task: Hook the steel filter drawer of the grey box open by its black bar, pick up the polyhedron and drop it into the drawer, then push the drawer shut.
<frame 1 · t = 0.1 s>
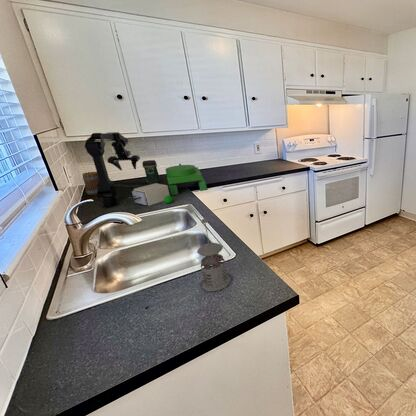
hand: (128, 169, 197), 15 cm above the worktop, tool pointing down, fingers open, 9 cm apart
mug: (99, 192, 198), on the worktop
french press: (215, 281, 97), on the worktop
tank: (188, 186, 209), on the worktop
grey box: (154, 200, 179), on the worktop
coffee jar: (154, 183, 220), on the worktop
polyhedron: (169, 203, 175), on the worktop
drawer: (145, 196, 173), point 5 cm above the worktop, slide at 0.5 cm
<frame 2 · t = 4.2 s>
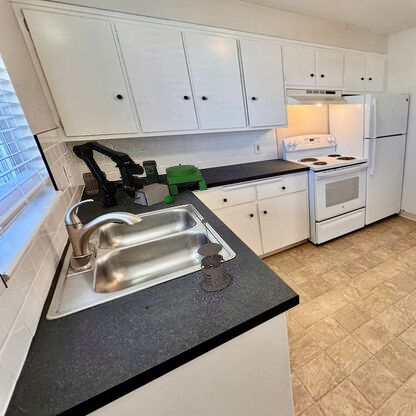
hand: (133, 198, 167), 5 cm above the worktop, tool pointing down, fingers closed
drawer: (145, 196, 173), point 5 cm above the worktop, slide at 0.8 cm, touching gripper
everything else where it was.
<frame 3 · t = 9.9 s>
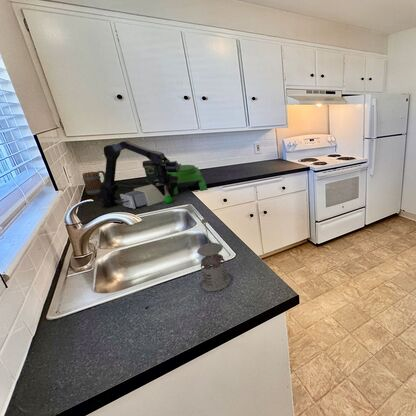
hand: (168, 196, 173), 5 cm above the worktop, tool pointing down, fingers open, 8 cm apart
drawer: (134, 199, 167), point 5 cm above the worktop, slide at 7.5 cm
everything else where it was.
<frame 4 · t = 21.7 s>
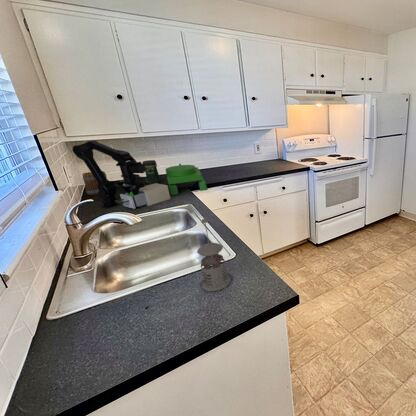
hand: (134, 197, 167), 6 cm above the worktop, tool pointing down, fingers closed on polyhedron, 5 cm apart
polyhedron: (135, 199, 168), point 5 cm above the worktop, touching gripper
everything else where it was.
when the fingers open (9 cm above the worktop, at t = 31.3 s): polyhedron drops 6 cm, resting on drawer.
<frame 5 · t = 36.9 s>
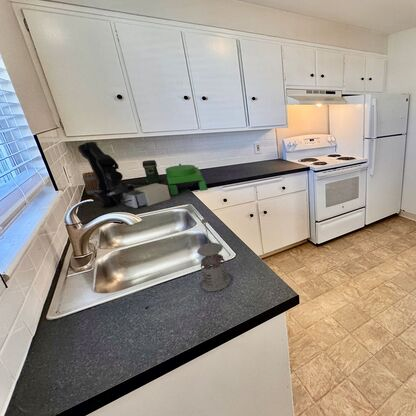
hand: (119, 204, 160), 5 cm above the worktop, tool pointing down, fingers closed
polyhedron: (138, 202, 170), point 2 cm above the worktop, touching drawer
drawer: (136, 198, 169), point 5 cm above the worktop, slide at 6.0 cm, touching gripper, polyhedron
everything else where it was.
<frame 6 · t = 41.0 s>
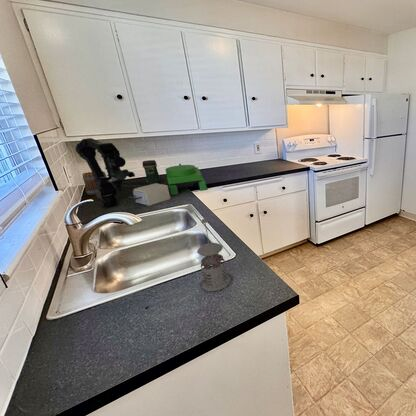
hand: (119, 191, 159), 12 cm above the worktop, tool pointing down, fingers closed
polyhedron: (148, 199, 175), point 2 cm above the worktop, touching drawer
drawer: (146, 195, 173), point 5 cm above the worktop, slide at 0.0 cm, touching grey box, polyhedron
everything else where it was.
at the end: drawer pulled out 7.5 cm at the most during the clip, back to where it started at the end; polyhedron inside the target area in the grey box (3.5 cm from its centre), point 1.8 cm above the grey box's base; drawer slide at 0.0 cm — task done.
